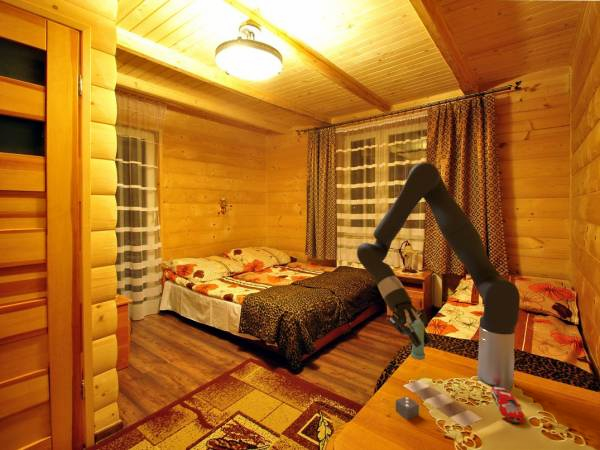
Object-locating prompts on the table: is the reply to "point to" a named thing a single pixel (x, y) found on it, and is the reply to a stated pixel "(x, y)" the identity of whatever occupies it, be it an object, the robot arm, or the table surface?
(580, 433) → the table surface
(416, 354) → the pawn
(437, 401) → the board
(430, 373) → the table surface
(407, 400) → the die
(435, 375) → the table surface
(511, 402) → the race car
